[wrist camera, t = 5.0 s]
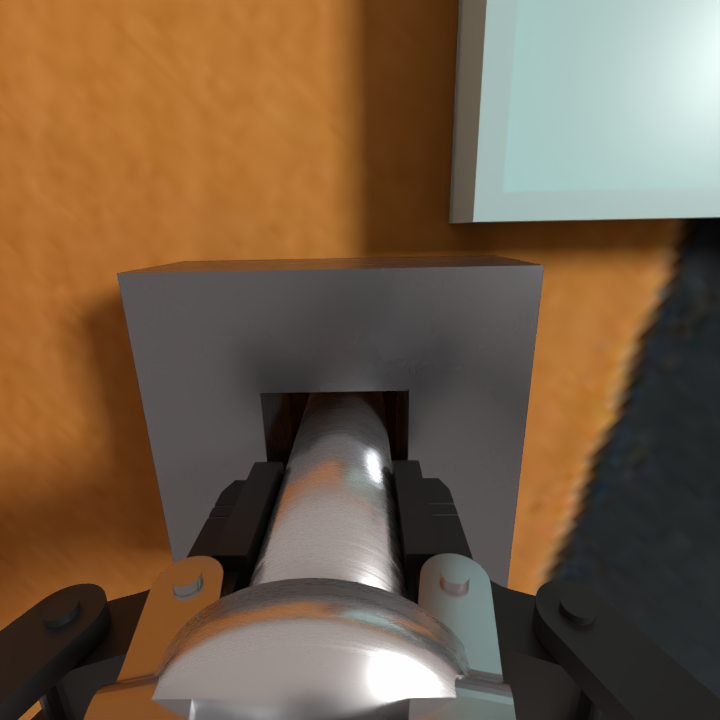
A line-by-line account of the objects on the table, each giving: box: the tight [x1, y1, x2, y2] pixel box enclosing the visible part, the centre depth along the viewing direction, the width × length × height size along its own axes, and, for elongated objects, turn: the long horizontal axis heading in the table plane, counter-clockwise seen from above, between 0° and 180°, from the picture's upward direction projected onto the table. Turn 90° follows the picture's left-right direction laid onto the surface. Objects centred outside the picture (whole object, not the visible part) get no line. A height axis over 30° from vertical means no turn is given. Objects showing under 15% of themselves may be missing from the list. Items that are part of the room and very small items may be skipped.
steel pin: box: [152, 391, 470, 720], centre depth 11 cm, size 5×5×12 cm
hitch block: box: [117, 255, 544, 588], centre depth 15 cm, size 12×12×4 cm
